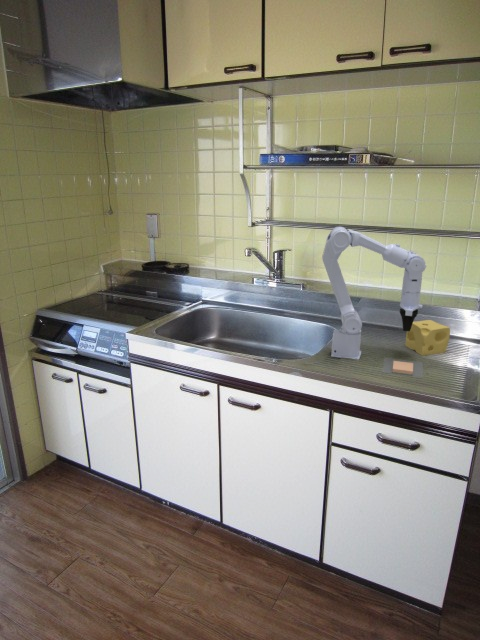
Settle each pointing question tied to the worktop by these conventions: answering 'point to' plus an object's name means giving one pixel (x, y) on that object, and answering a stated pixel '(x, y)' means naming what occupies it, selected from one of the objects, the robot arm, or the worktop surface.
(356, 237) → the robot arm
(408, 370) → the tile
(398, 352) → the worktop surface
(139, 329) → the worktop surface
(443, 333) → the cheese
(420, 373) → the mat
